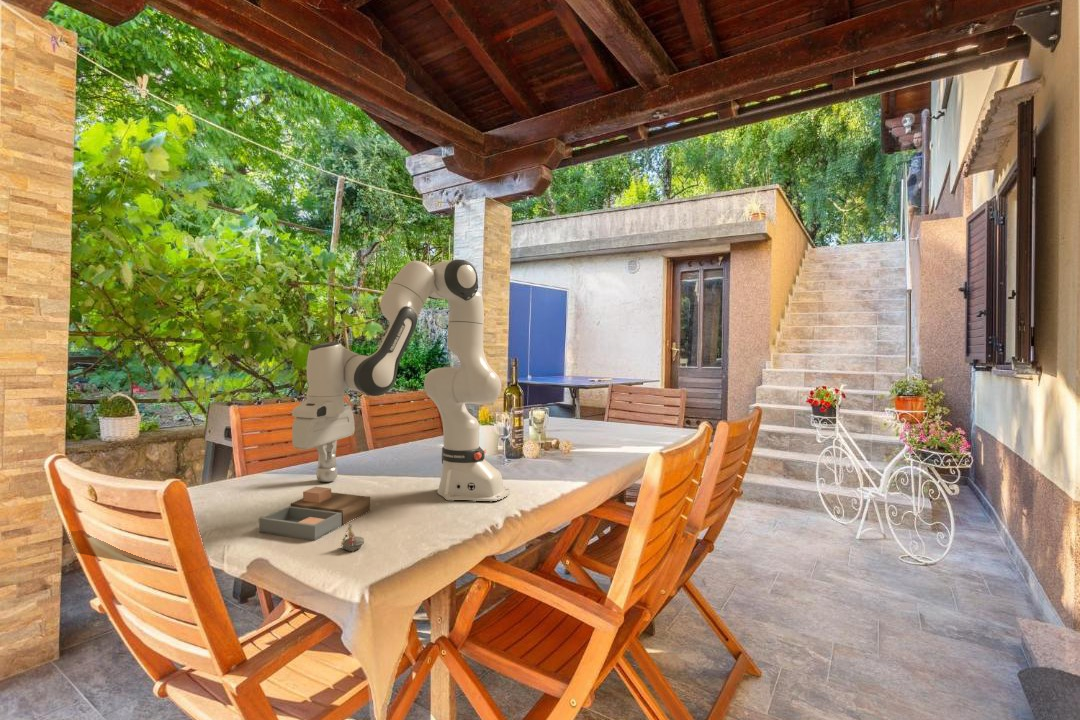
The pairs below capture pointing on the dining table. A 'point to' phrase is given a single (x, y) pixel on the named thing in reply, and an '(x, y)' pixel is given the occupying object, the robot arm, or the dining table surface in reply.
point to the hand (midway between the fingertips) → (326, 459)
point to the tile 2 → (311, 520)
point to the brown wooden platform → (339, 505)
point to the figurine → (352, 541)
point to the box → (289, 526)
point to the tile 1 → (317, 494)
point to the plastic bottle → (327, 468)
